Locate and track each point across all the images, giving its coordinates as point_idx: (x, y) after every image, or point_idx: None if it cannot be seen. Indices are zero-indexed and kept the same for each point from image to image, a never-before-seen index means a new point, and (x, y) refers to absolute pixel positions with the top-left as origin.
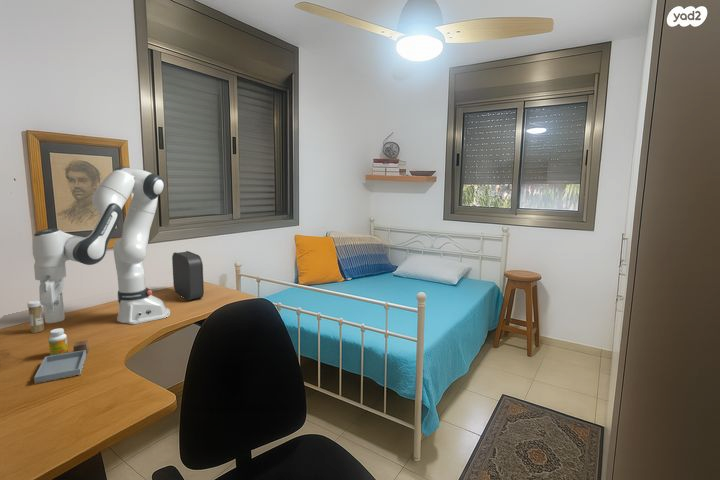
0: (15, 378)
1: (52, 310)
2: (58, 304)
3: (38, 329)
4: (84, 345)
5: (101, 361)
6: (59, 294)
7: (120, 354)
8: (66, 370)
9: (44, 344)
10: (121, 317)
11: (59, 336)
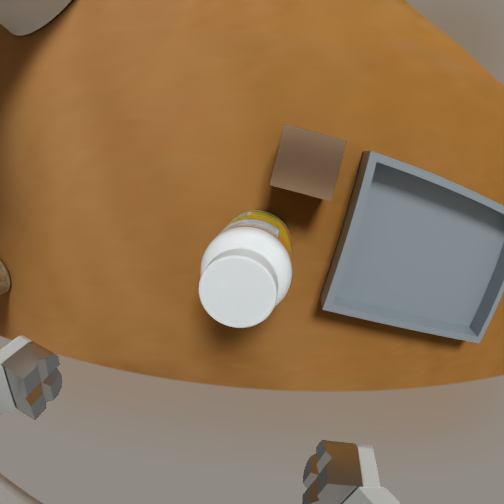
0: (381, 373)
1: (372, 473)
2: (51, 357)
3: (2, 278)
4: (343, 149)
5: (458, 122)
6: (5, 487)
7: (434, 47)
8: (464, 246)
9: (107, 276)
10: (43, 6)
11: (276, 273)
